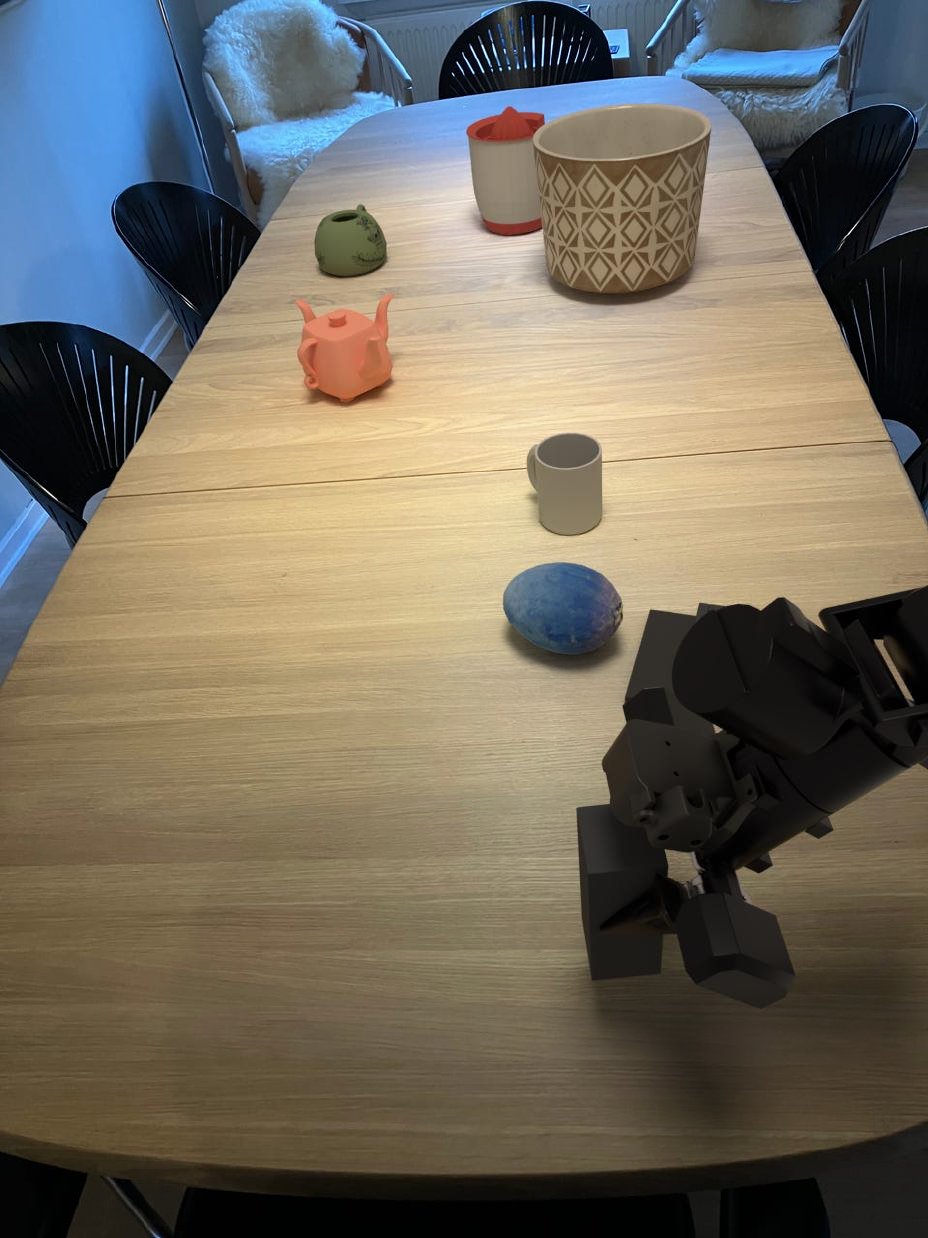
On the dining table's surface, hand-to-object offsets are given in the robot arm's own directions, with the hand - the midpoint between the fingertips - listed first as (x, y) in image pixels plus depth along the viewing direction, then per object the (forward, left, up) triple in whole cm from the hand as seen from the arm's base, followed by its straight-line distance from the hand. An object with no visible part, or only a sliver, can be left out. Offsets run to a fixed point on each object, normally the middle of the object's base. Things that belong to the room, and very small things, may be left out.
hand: (598, 895), depth 57 cm
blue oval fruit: (+10, -34, -13) cm, 37 cm away
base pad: (-6, -33, -12) cm, 35 cm away
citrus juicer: (+47, -139, -13) cm, 147 cm away
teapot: (+54, -79, -13) cm, 96 cm away
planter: (+24, -118, -13) cm, 121 cm away
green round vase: (+72, -120, -13) cm, 140 cm away
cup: (+17, -54, -13) cm, 57 cm away
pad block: (-1, -1, -7) cm, 7 cm away
